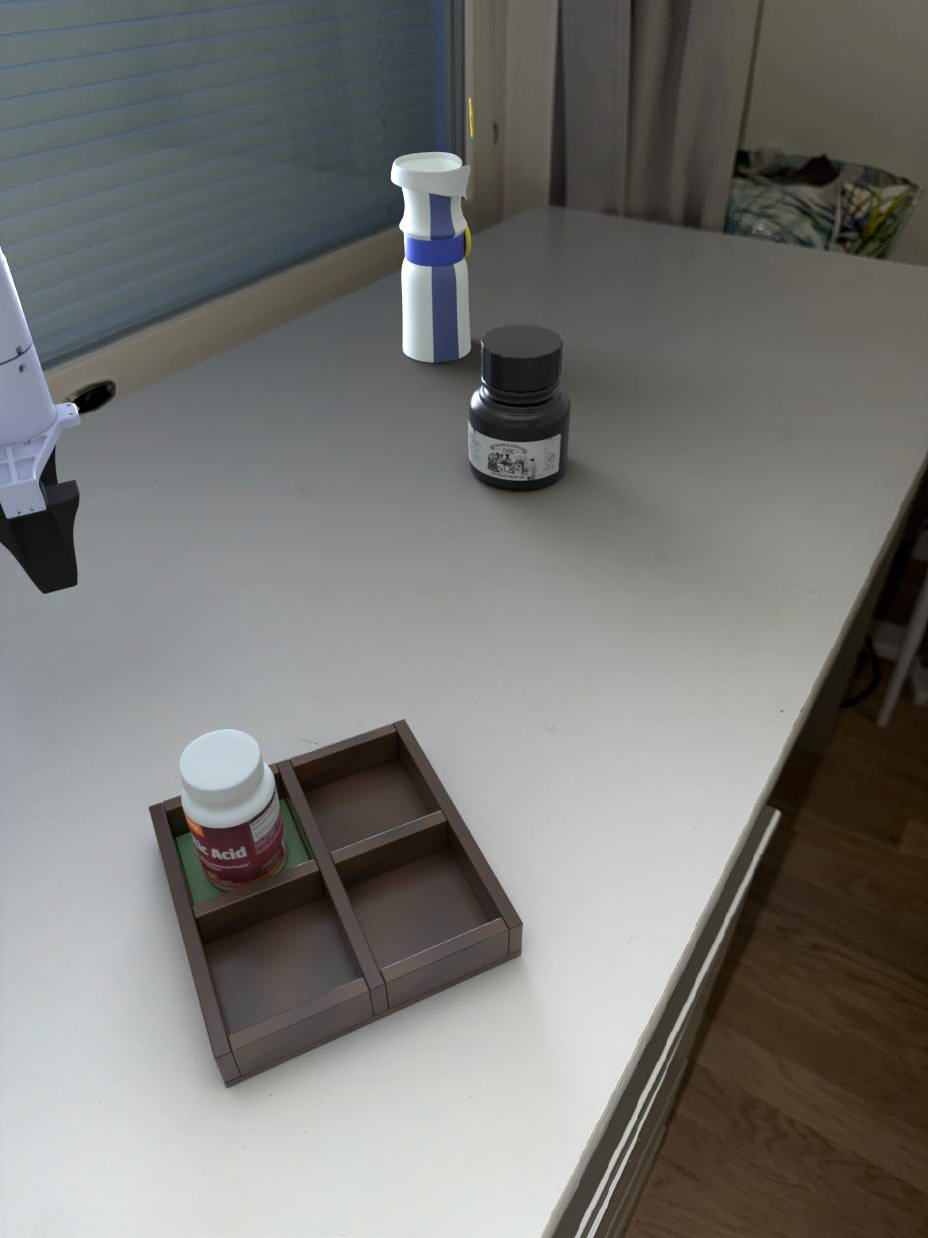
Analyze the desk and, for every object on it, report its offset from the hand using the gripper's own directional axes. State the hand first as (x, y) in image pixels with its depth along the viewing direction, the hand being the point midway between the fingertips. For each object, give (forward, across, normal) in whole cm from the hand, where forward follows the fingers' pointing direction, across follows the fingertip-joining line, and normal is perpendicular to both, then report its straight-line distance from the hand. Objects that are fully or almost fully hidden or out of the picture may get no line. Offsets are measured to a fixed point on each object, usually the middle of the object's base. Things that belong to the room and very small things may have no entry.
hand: (52, 553), depth 58 cm
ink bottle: (+10, +10, -39) cm, 41 cm away
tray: (+9, -25, -9) cm, 28 cm away
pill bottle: (+9, -21, -5) cm, 24 cm away
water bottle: (+10, +37, -43) cm, 58 cm away
